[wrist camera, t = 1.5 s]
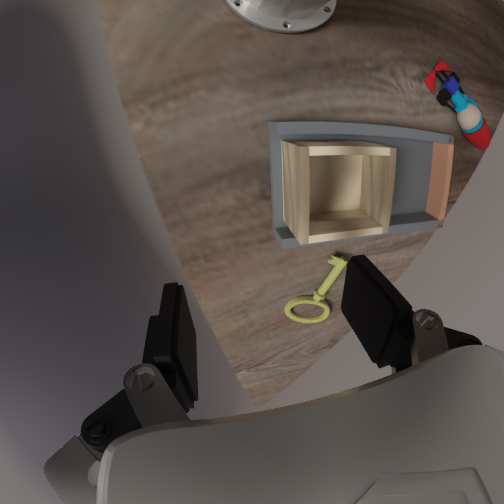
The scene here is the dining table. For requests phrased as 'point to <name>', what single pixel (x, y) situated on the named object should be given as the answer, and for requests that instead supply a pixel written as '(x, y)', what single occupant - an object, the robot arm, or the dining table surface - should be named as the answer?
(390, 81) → the dining table surface
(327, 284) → the key
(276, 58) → the dining table surface
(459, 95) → the toy figure
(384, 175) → the crate
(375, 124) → the rail bay
